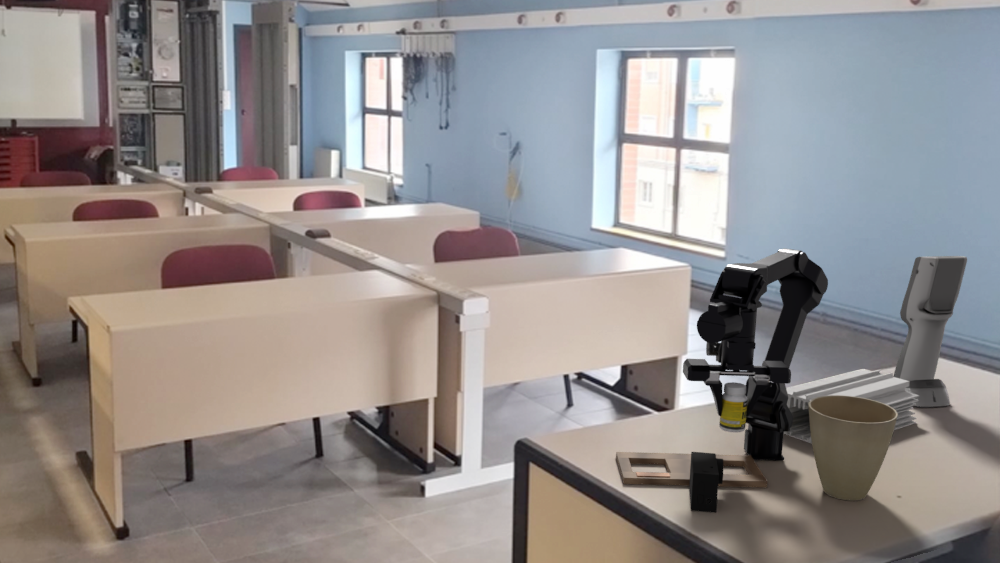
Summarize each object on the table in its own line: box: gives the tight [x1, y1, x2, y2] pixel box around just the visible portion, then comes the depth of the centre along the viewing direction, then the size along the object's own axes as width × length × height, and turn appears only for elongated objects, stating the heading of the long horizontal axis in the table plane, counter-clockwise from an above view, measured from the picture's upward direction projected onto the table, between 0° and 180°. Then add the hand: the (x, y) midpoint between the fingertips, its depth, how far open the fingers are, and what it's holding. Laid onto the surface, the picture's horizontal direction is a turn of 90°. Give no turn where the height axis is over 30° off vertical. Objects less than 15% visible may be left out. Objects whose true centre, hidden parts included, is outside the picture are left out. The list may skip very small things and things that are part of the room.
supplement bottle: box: [718, 381, 747, 433], centre depth 186 cm, size 5×5×8 cm
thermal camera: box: [893, 255, 968, 409], centre depth 233 cm, size 12×13×35 cm
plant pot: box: [808, 395, 898, 502], centre depth 179 cm, size 15×15×16 cm
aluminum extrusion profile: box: [784, 368, 919, 445], centre depth 215 cm, size 14×31×10 cm, turn 127°
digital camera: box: [688, 451, 724, 514], centre depth 175 cm, size 10×5×7 cm, turn 171°
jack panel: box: [615, 451, 769, 489], centre depth 188 cm, size 26×13×1 cm, turn 90°
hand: (733, 415), depth 186 cm, fingers closed on supplement bottle, 5 cm apart
